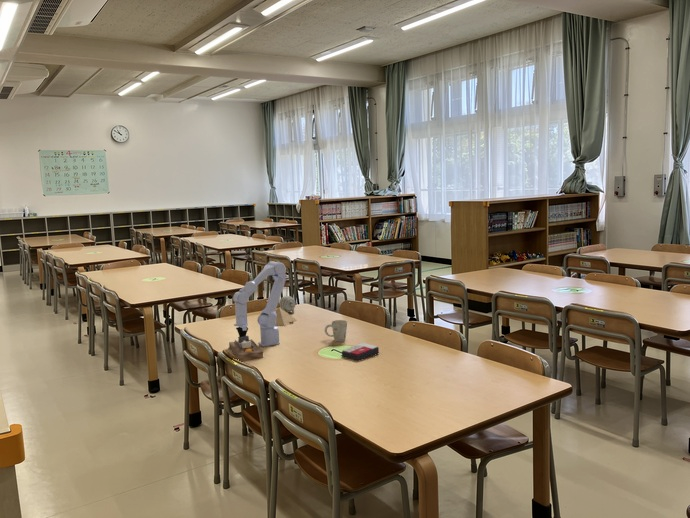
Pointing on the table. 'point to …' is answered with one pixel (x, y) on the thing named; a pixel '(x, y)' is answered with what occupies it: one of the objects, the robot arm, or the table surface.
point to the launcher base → (241, 353)
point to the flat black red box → (360, 351)
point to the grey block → (244, 341)
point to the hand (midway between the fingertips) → (242, 341)
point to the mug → (338, 330)
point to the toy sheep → (287, 304)
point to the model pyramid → (283, 318)
